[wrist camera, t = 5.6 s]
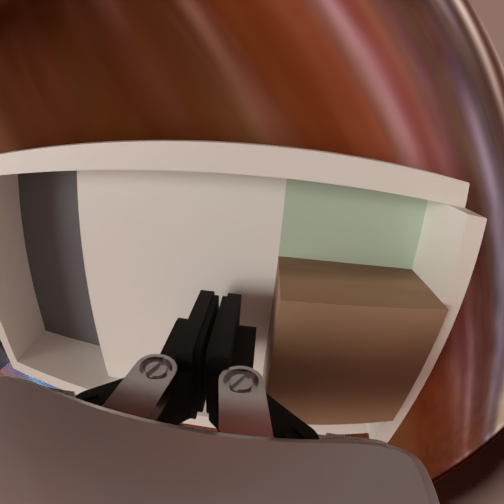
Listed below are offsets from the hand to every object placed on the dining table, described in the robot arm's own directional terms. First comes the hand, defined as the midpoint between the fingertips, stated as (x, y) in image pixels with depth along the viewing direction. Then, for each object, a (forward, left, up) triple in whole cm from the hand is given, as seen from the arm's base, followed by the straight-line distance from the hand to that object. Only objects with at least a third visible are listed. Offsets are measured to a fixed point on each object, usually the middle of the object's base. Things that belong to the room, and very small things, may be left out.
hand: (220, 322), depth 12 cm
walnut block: (0, +5, -1) cm, 5 cm away
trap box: (0, -3, -4) cm, 5 cm away
